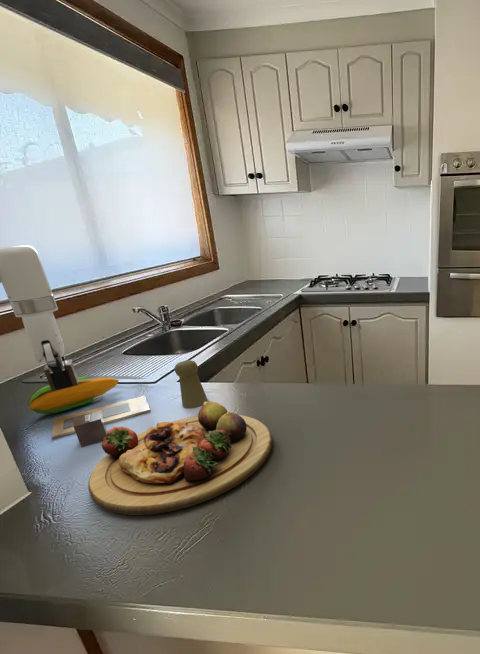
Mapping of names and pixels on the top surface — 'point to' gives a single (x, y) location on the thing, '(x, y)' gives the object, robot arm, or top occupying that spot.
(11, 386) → the top surface
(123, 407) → the word board
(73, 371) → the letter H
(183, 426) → the wooden plate
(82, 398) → the corn
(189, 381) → the pepper mill
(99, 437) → the brown cube
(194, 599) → the top surface
